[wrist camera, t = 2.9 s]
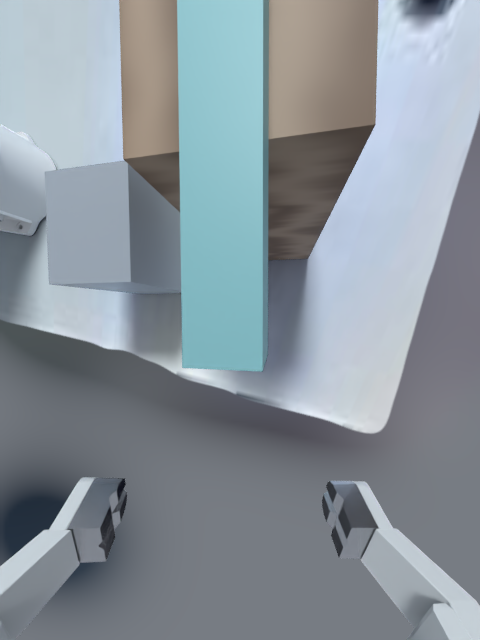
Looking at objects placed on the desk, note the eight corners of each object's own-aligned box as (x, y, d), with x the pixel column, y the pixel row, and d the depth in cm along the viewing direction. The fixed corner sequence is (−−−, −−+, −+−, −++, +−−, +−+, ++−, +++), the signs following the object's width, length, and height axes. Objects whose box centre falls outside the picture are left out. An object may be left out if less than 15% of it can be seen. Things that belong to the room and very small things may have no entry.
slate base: (139, 293, 41) (49, 284, 25) (137, 225, 40) (44, 171, 24) (192, 293, 39) (130, 281, 23) (191, 221, 38) (127, 160, 23)
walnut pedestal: (232, 261, 37) (123, 159, 12) (231, 186, 37) (116, -91, 11) (308, 258, 35) (375, 124, 10) (308, 178, 35) (382, -188, 9)
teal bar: (208, 352, 12) (182, 368, 9) (202, -219, 10) (170, -430, 7) (267, 354, 11) (262, 371, 8) (269, -249, 10) (264, -490, 7)
